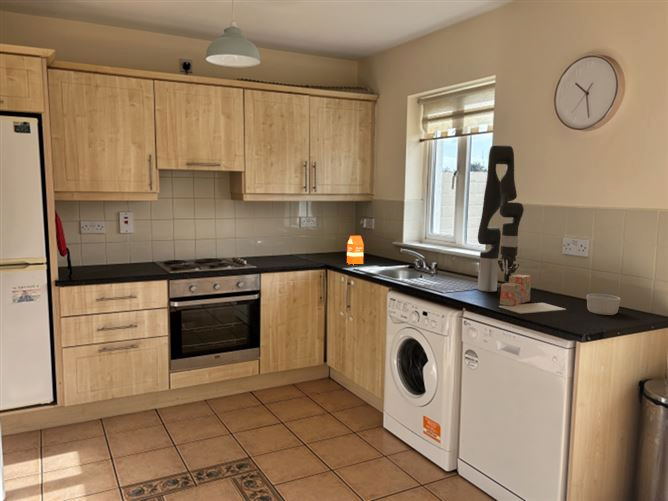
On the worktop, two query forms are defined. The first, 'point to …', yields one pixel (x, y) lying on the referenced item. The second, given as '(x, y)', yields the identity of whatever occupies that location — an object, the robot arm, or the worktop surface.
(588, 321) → the worktop surface
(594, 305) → the ramekin
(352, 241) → the orange juice
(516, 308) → the mat
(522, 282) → the stack of blocks
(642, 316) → the worktop surface
